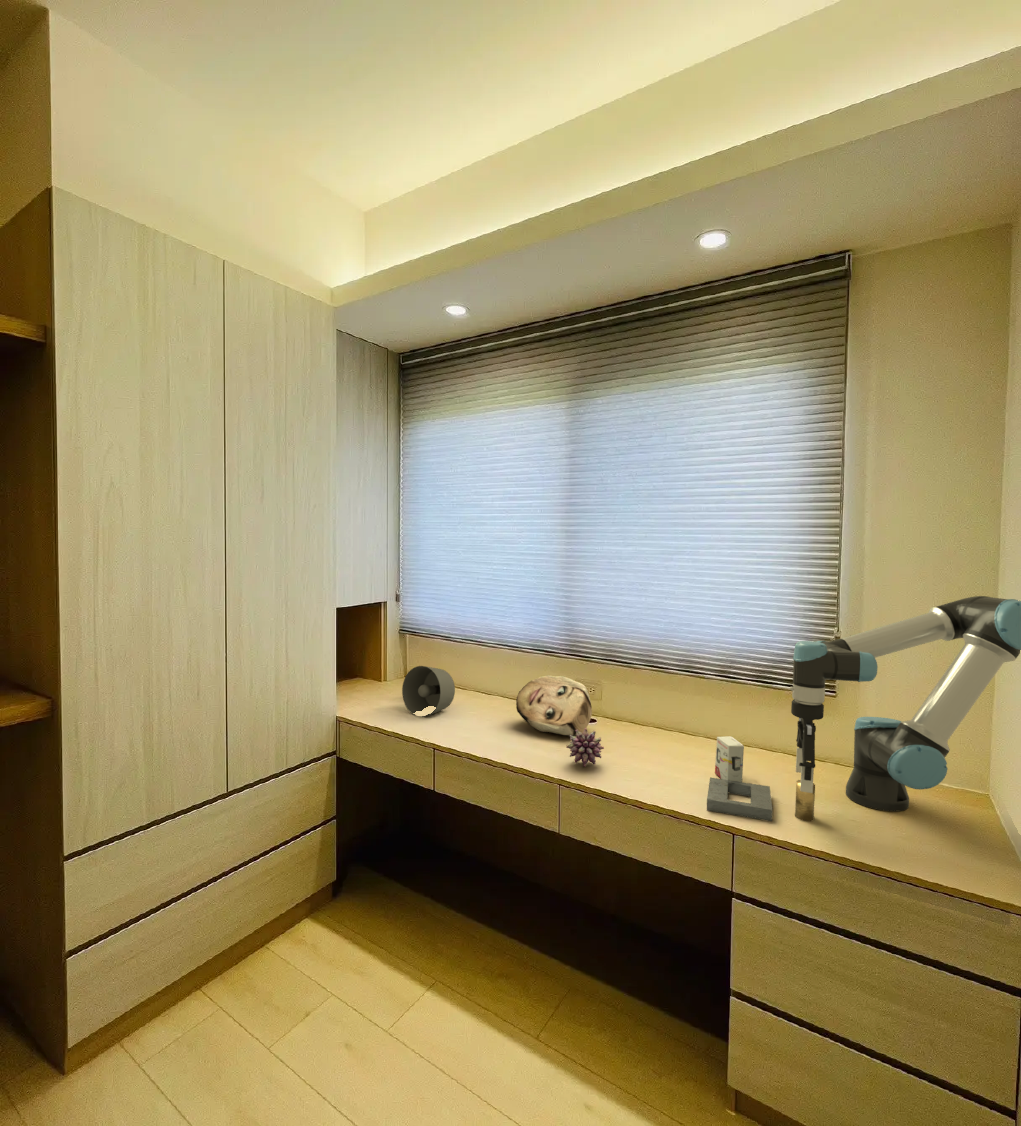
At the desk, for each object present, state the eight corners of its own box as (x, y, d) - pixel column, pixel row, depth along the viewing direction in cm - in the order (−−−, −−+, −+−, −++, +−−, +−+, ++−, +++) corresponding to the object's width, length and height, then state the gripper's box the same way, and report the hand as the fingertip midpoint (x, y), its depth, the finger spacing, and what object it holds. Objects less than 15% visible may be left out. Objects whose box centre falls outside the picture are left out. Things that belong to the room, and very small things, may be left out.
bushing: (812, 815, 155) (814, 781, 155) (814, 822, 151) (816, 788, 151) (794, 812, 157) (795, 779, 156) (795, 819, 152) (797, 785, 152)
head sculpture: (520, 739, 232) (581, 756, 215) (503, 714, 222) (566, 730, 206) (544, 693, 245) (604, 706, 228) (530, 668, 235) (591, 679, 218)
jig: (769, 796, 166) (769, 786, 166) (772, 821, 151) (772, 810, 151) (709, 787, 172) (710, 777, 172) (706, 810, 157) (706, 799, 157)
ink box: (714, 773, 182) (715, 736, 182) (729, 773, 183) (730, 735, 183) (727, 785, 174) (728, 745, 173) (743, 784, 174) (744, 745, 174)
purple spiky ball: (590, 775, 179) (590, 737, 179) (559, 765, 187) (559, 728, 187) (610, 765, 188) (611, 728, 187) (580, 756, 196) (580, 720, 196)
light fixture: (440, 667, 234) (479, 665, 257) (393, 664, 248) (434, 662, 270) (438, 719, 232) (477, 712, 254) (390, 713, 245) (432, 707, 268)
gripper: (788, 688, 166) (784, 763, 166) (795, 711, 142) (791, 797, 143) (818, 692, 163) (814, 767, 164) (830, 716, 140) (826, 803, 140)
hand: (803, 781), depth 153 cm, fingers open, 13 cm apart
